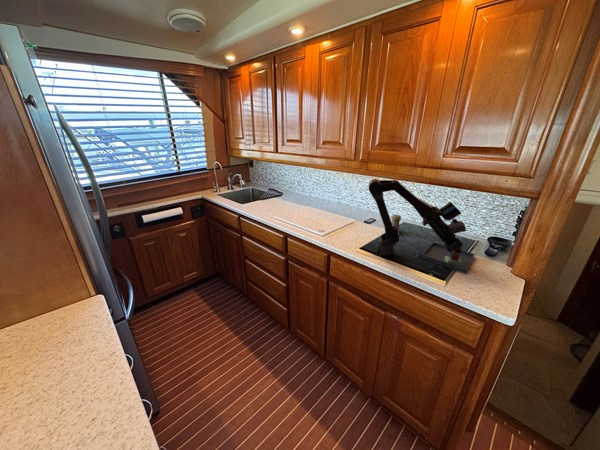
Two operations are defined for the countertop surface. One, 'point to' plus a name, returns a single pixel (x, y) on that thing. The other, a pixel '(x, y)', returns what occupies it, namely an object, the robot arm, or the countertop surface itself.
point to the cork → (396, 220)
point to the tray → (439, 252)
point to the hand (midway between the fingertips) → (459, 250)
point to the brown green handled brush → (454, 258)
